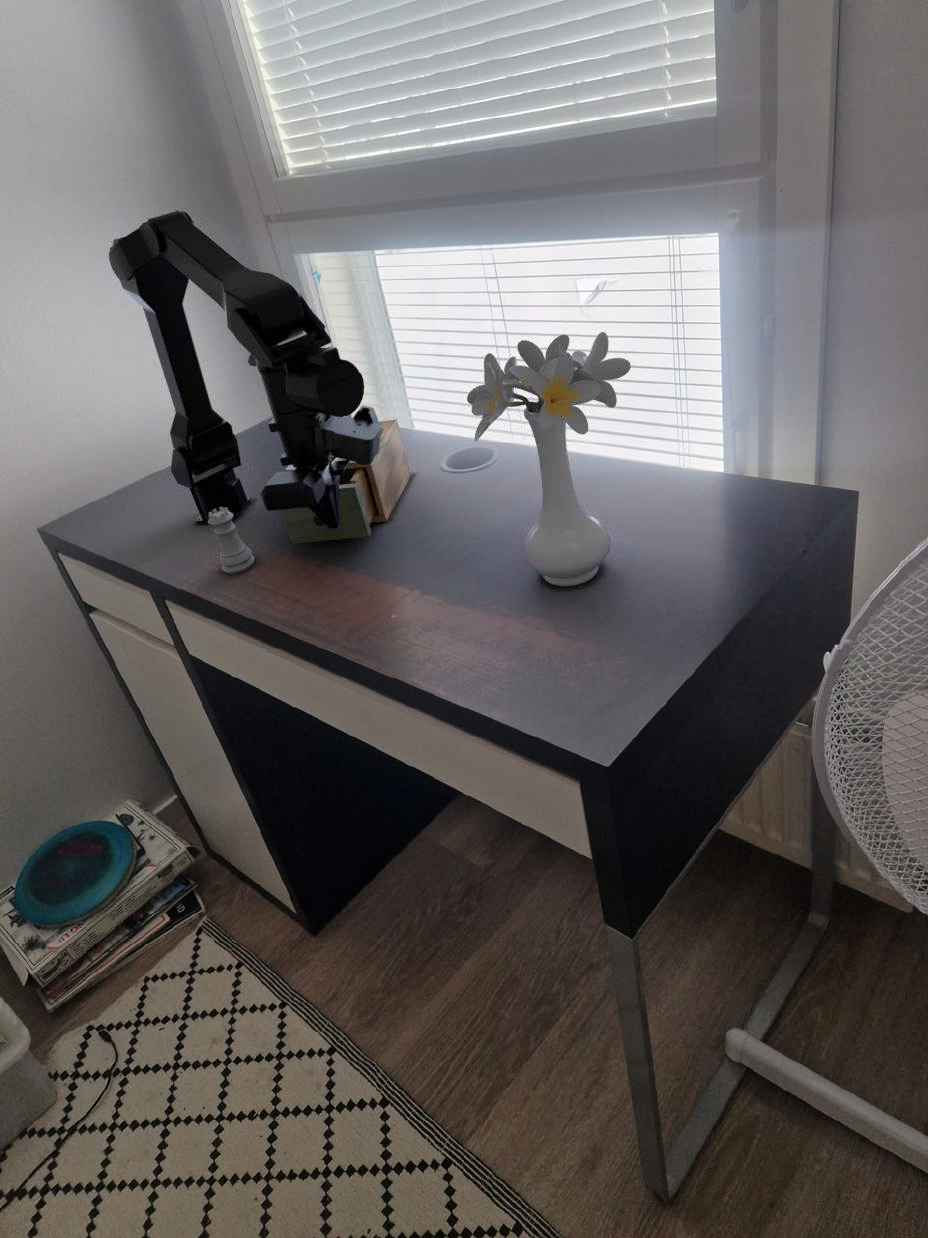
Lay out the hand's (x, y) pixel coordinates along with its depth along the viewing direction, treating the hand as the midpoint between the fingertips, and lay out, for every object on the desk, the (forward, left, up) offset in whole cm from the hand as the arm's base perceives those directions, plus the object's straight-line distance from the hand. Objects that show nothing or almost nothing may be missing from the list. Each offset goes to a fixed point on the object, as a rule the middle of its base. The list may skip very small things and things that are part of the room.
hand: (334, 526), depth 103 cm
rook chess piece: (-15, +1, -5) cm, 16 cm away
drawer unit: (-3, +17, -5) cm, 18 cm away
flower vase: (+29, -6, -5) cm, 30 cm away
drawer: (-3, +10, -4) cm, 12 cm away
